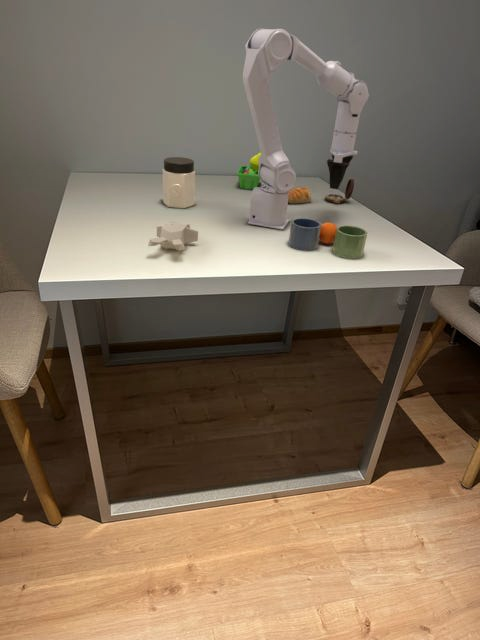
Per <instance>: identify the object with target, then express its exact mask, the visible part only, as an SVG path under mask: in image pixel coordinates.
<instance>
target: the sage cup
mask: <svg viewBox="0 0 480 640" xmlns="http://www.w3.org/2000/svg"><path fill="white" fill-rule="evenodd" d="M336 227H337V229H336V234H335V239H334V242H333V245H332V253H333V254H334V255H335V256H337V257H340V258H343V259H349V260H357V259H360V258H362V257H363V255H364V250H365V246H366V242H367V236H368V231H367V230H366V229H364V228H363V227H359V226H355V225H348V224H347V225H345V224H343V225H338V226H336Z"/></svg>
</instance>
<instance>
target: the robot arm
mask: <svg viewBox="0 0 480 640" xmlns="http://www.w3.org/2000/svg"><path fill="white" fill-rule="evenodd" d="M244 47H245V59H244V66H243V72H242V83H243V88H244V91H245V96H246V99H247V103H248V108H249V111H250V115H251V116H250V117H251V119H252V124H253V127H254V131H255V135H256V140H257V144H258V147H259V152H261V156H260V157H259V159H258V161H259V171H258V175H259V178H260V181H261V186H259V187H258V186H257V187H255V188H254V189H252V192H251V197H250V202H249V203H250V205H249V213H248V214H249V216H248V221H247V224H248V225H253V226H259V227H265V228H270V229H277V230H284V229H285V227H286V226H287V225H288V223H289V222H290V219H289V218H287V212H288V205H289V203H288V197H289V193H290V190H291V189H294V186H295V185H296V182H297V174H296V171H295V170H294V169H293V167H292V166H291V163H290V160H289V158H288V156H287V155H286V153H285V152H284V150H283V144H282V141H281V137H280V136H281V135H280V131H279V126H278V122H277V118H276V113H275V108H274V104H273V99H272V94H271V90H270V85H269V81H270V80H271V78H272V77H273V74H274V73H275V72H276V71H277V70H278V69H279V68H280V67H281V66H282V65H283V64H284V63H286V61H293V62H295V63H296V64H298V65H299V66H301V67H302V68H304V69H305V70H306V71H309V72H310V73H311V74H313V75H314V76H316V82H317V84H318V86H320V87H321V88H322V89H324V90H325V91H327V92H328V93H330V94H331V95H333V96H335V100H336V101H337V103H338V106H337V111H336V117H335V122H334V123H335V124H334V129H333V136H332V142H331V147H330V148H329V149H330V150H329V152H330V153H331V159H330V158H328V159H327V161H326V164H327V169H328V172H329V188H330V189H332V190H339V188H340V186H341V184H342V182H343V180H344V177H345V174H346V172H347V169H348V167H349V166H350V163H351V161H352V160H353V158H354V156H357V155H358V153H359V151H358V150H354V149H355V143H356V138H357V134H358V133H357V132H358V127H359V122H360V118H361V114H362V112H363V108H364V106H365V104H366V103H367V102H368V99H369V97H370V93H369V88H368V86H367V83H366V82H365V81H364V80H362V79H361V80H360V79H356V78H355V74H354V73H353V72H349V71H347V70H346V69H345V68H343V67H342V63H341V62H340V61H339V60H328V61H324V59H322V58H321V57H319V56H318V55H317V54H316V53H315V51H314V52H313V51H312V50H311V49H310V48H309V47H308V46H307V45H305V44H304V43H303V42H302V41H300V39H299V38H298V37H297V36H296V35H293V34H292V33H289V32H288V31H287V30H285V29H283V28H276V29H274V28H273V29H272V28H263V27H261V28H257V29H256V30H254V31H253V32H252V33H251V34H250V37H249V38H248V40H247V41H246V44H245V45H244Z"/></svg>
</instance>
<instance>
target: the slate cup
mask: <svg viewBox="0 0 480 640" xmlns="http://www.w3.org/2000/svg"><path fill="white" fill-rule="evenodd" d="M322 225H323V224H322V223H321V222H320V221H318V220H316V219H312V218H307V217H299V218H298V217H297V218H293V219H291V221H290V228H289V237H288V245H289V246H290V247H291V248H293V249H295V250H300V251H306V252H307V251H314V250H317V249H318V248H319V243H320V239H319V238H320V232H321V226H322Z"/></svg>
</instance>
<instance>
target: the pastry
mask: <svg viewBox="0 0 480 640" xmlns="http://www.w3.org/2000/svg"><path fill="white" fill-rule="evenodd" d="M310 201H312V195H311V192H310V189H308V188H307V187H296V188H292V189H291V190H290V193H289V197H288V204H290V205H294V204H297V205H298V204H307V203H310Z"/></svg>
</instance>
